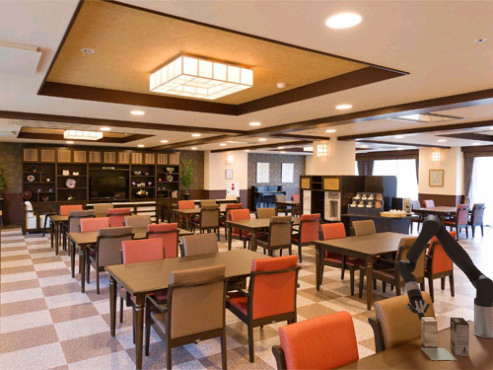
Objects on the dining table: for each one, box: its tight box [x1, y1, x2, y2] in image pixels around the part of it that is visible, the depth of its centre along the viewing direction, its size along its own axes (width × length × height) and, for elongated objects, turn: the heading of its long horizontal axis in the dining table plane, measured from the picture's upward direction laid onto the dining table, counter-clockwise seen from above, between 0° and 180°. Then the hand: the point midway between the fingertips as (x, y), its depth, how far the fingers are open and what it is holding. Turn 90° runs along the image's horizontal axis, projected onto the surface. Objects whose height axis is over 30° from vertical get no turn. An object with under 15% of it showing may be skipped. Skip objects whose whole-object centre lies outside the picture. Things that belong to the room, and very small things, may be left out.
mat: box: [420, 347, 458, 362], centre depth 189 cm, size 13×12×1 cm
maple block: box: [420, 316, 438, 348], centre depth 199 cm, size 5×6×14 cm
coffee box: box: [449, 316, 470, 357], centre depth 191 cm, size 9×6×16 cm
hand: (422, 320), depth 206 cm, fingers closed
